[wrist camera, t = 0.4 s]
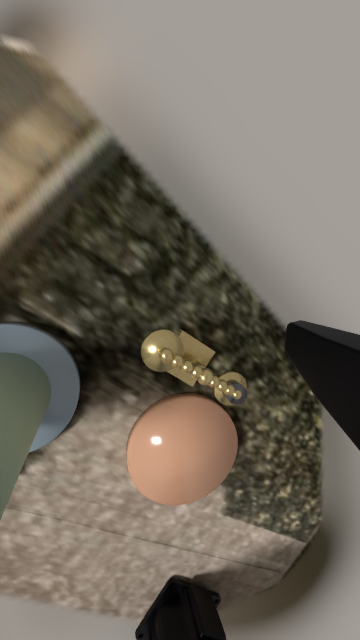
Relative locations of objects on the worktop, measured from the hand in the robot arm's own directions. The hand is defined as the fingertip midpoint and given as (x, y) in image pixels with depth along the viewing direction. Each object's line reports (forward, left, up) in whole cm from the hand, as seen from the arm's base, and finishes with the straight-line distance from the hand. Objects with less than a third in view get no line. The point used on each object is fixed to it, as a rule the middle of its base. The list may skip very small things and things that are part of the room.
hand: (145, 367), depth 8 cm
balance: (0, -7, -16) cm, 18 cm away
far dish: (-7, -12, -16) cm, 21 cm away
